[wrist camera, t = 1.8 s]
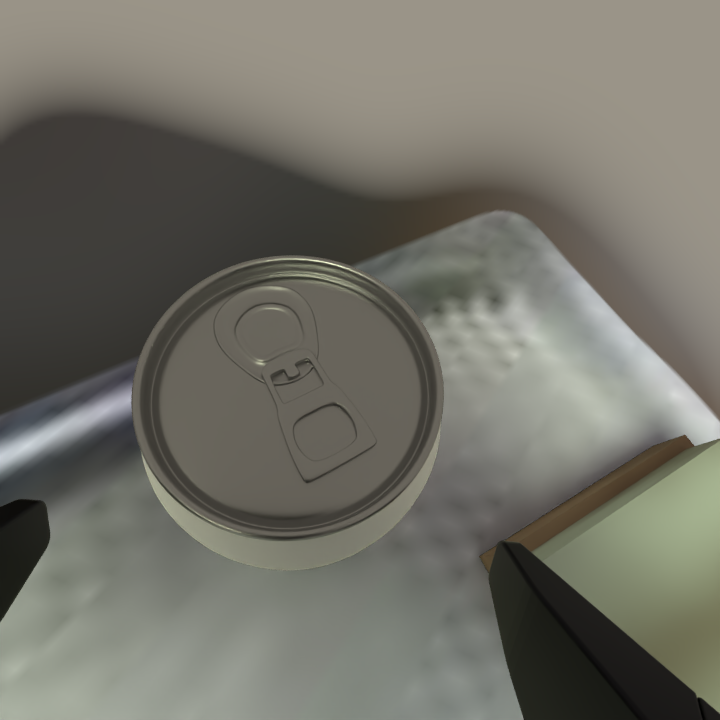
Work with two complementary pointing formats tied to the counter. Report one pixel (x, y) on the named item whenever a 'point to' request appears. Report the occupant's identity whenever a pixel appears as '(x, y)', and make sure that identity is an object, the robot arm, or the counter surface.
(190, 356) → the can
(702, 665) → the tower base
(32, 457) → the counter surface
